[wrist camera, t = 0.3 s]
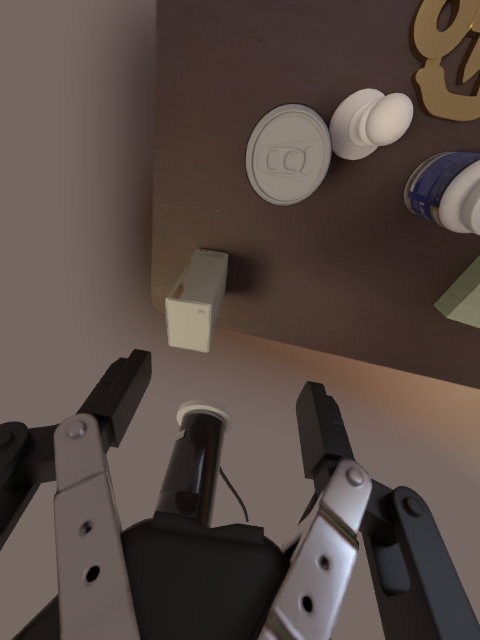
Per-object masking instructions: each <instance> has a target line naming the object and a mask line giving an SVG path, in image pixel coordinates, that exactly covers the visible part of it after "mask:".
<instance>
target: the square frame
mask: <svg viewBox="0 0 480 640" xmlns="http://www.w3.org/2000/svg"><path fill="white" fill-rule="evenodd" d="M433 306H435V307H436V308H437V309H438V310H439V311H440V312H441V313H442V314H443V315H444V316H445V317H446V318H449V319H452V320H455V321H458V322H461V323H465V324H468V325H471V326H474V327H477V328H480V255H479V256H478V257H477V258H476V259H475V260H474V262H473V263H472V264H471V265H470V266H469V267H468V268H467V269H466V270H465V271H464V272H463V273H462V275H461V276H460V277H459V278H458V279H457V280H456V281H455V282H454V283H453V284H452V285H451V286H450V287H449V289H448V290H447V291H446V292H445V293H444V294H443V295H442V296H441V297H440V298H439V299H438V301H437V302H436V303H435V304H434V305H433Z"/></svg>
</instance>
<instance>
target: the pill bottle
mask: <svg viewBox="0 0 480 640" xmlns="http://www.w3.org/2000/svg"><path fill="white" fill-rule="evenodd" d="M404 200H405V204H406V206H407V208H408V209H409V210H410V211H411V212H412V213H414V214H416V215H418V216H421V217H423V218H425V219H427V220H429V221H431V222H433V223H436V224H438V225H440V226H442V227H444V228H446V229H448V230H451V231H454V232H458V233H475V234H478V235H480V153H467V152H444V153H440V154H437V155H434V156H432V157H430V158H429V159H427V160H426V161H424V162H423V163H422V164H421V165H420V166H418V167H417V169H416V170H415V171H414V172H413V173H412V175H411V176H410V178H409V180H408V182H407V184H406V187H405V192H404Z"/></svg>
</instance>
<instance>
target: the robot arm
mask: <svg viewBox="0 0 480 640" xmlns="http://www.w3.org/2000/svg"><path fill="white" fill-rule="evenodd" d="M151 367H152V366H151V352H149V351H144V350H138V349H134V350H133V351H132V353H131V354H130V356H129V358H128V359H126V358H119V359H118V360H117V361H115V362H114V363H112V364H111V366H110V367H109V368H108V370H107V371H106V372H105V375H103V377H102V378H101V379H100V382H99V383H98V384H97V385H96V387H95V388H94V389H93V391H92V392H91V394H90V395H89V396H88V398H87V399H86V401H85V402H84V404H83V405H82V406H81V408H80V409H79V410H78V412H77V413H76V414H75V415H73V416H71V417H69V418H67V419H66V420H64V421H63V422H62V423H60V424H57V425H52V426H46V427H39V428H30V429H28V428H27V426H26V425H25V424H24V423H21V422H7V423H3V424H0V551H1V549H2V547H3V546H4V544H5V542H6V541H7V539H8V537H9V536H10V534H11V532H12V531H13V529H14V527H15V526H16V524H17V522H18V521H19V519H20V517H21V516H22V514H23V512H24V511H25V509H26V507H27V506H28V504H29V502H30V501H31V499H32V498H33V496H34V494H35V493H36V491H37V489H38V488H39V486H40V484H41V483H45V482H50V481H57V492H56V494H55V495H54V523H55V542H56V560H57V579H58V594H57V595H56V597H55V598H53V599H52V600H51V602H49V603H48V604H47V605H46V606H45V607H44V608H43V609H42V610H41V611H40V612H39V613H38V614H37V615H36V616H35V617H34V618H33V619H32V620H31V621H30V622H29V623H28V624H27V625H26V626H25V627H24V628H23V629H22V630H21V631H20V632H19V633H18V634H17V635H16V636H15V637H14V638H13V639H12V640H331V635H332V633H333V629H334V626H335V623H336V620H337V617H338V614H339V611H340V607H341V604H342V601H343V598H344V595H345V592H346V588H347V585H348V582H349V579H350V576H351V573H352V570H353V566H354V563H355V560H356V557H357V554H358V550H359V542H358V541H357V539H356V537H357V533H358V531H360V532H362V536H363V540H364V545H365V550H366V554H367V559H368V563H369V567H370V572H371V576H372V581H373V585H374V590H375V595H376V599H377V604H378V608H379V613H380V617H381V621H382V626H383V631H384V635H385V640H480V625H479V623H478V621H477V618H476V616H475V614H474V612H473V609H472V607H471V604H470V602H469V600H468V597H467V595H466V593H465V591H464V588H463V586H462V583H461V582H460V579H459V577H458V574H457V572H456V570H455V567H454V565H453V563H452V560H451V558H450V556H449V553H448V551H447V548H446V546H445V544H444V542H443V539H442V537H441V535H440V532H439V530H438V528H437V525H436V523H435V521H434V518H433V516H432V514H431V511H430V509H429V508H428V506H427V504H426V503H425V501H424V500H423V499H422V498H421V497H420V496H419V495H418V494H417V493H416V492H415V491H413V490H412V489H410V488H408V487H405V486H399V487H397V488H395V489H394V490H392V489H390V488H388V487H387V486H385V485H383V484H381V483H379V482H377V481H375V480H373V479H371V478H370V477H369V475H368V473H367V472H366V470H365V469H364V468H363V467H362V466H361V465H360V464H358V463H357V462H356V461H355V459H354V456H353V453H352V449H351V446H350V443H349V439H348V436H347V433H346V430H345V427H344V423H343V420H342V418H341V413H340V410H339V407H338V405H337V403H336V402H335V400H334V399H333V397H332V396H328V395H326V392H325V388H324V385H323V384H321V383H316V382H310V381H308V382H306V384H305V386H304V388H303V390H302V391H301V393H300V395H299V397H298V399H297V403H296V415H297V422H298V429H299V437H300V443H301V451H302V459H303V466H304V473H305V478H307V479H313V480H314V486H315V490H314V491H313V494H312V495H311V497H310V499H309V501H308V502H307V504H306V506H305V508H304V510H303V512H302V514H301V515H300V517H299V519H298V521H297V523H296V525H295V527H294V528H293V530H292V531H291V532H290V534H289V535H288V537H287V538H286V540H285V542H284V543H283V545H282V547H281V549H280V548H279V547H278V546H277V545H276V544H275V543H274V542H273V541H271V540H270V539H269V538H267V537H266V536H264V528H263V527H258V526H251V525H245V524H231V525H226V526H221V527H215V528H211V524H212V518H213V511H214V503H215V496H216V489H217V483H218V475H219V473H220V474H221V476H222V477H223V479H224V480H225V482H226V483H227V485H228V486H229V488H230V489H231V490H232V492H233V493H234V495H235V496H236V498H237V499H238V501H239V503H240V504H241V506H242V508H243V511H244V514H245V518H246V521H247V522H248V515H247V511H246V508H245V506H244V504H243V502H242V500H241V499H240V497H239V496H238V494H237V493H236V491H235V490H234V488H233V487H232V485H231V484H230V482H229V481H228V479H227V477H226V476H225V474H224V473H223V471H222V469H221V466H220V462H221V455H222V448H223V442H224V435H225V431H226V421H225V420H224V418H223V417H221V416H220V415H219V414H217V413H215V412H212V411H209V410H203V409H196V410H191V411H188V412H186V413H185V414H184V415H183V418H182V421H181V426H180V429H179V432H178V433H177V436H176V440H175V441H176V442H175V445H174V448H173V451H172V455H171V458H170V461H169V465H168V468H167V471H166V474H165V477H164V480H163V484H162V487H161V490H160V494H159V497H158V500H157V504H156V507H155V510H154V513H153V516H152V518H150V519H145V520H142V521H140V522H138V523H135V524H133V525H132V526H130V527H129V528H127V529H126V530H124V531H123V532H122V527H121V522H120V517H119V513H118V509H117V504H116V500H115V495H114V490H113V485H112V481H111V476H110V471H109V466H108V461H107V457H106V453H107V451H108V449H109V448H110V446H111V447H117V448H118V447H119V445H120V442H121V440H122V438H123V436H124V434H125V432H126V430H127V428H128V426H129V424H130V422H131V420H132V418H133V416H134V414H135V411H136V410H137V407H138V405H139V403H140V401H141V399H142V397H143V395H144V393H145V391H146V389H147V387H148V384H149V382H150V379H151V374H152V369H151Z"/></svg>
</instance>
